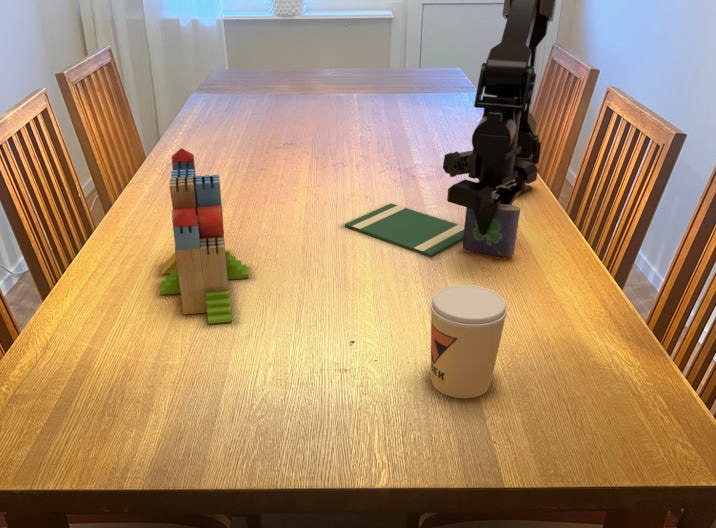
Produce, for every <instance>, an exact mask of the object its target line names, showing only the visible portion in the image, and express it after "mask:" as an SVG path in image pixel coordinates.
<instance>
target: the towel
mask: <svg viewBox="0 0 716 528" xmlns="http://www.w3.org/2000/svg"><path fill="white" fill-rule="evenodd" d="M464 226H465V225H462V224H458V223H455V222H452V221H448V220H445V219H442V218H439V217H436V216H433V215H430V214H426V213H423V212H420V211H416V210H414V209H410V208H407V207H405V206H402V205H400V204H394V203H389V204H387V205H384V206H381V207H380V208H377V209H375V210H373V211H371V212H369V213H367V214H366V213H365V214H363V215H362V216H360V217H357V218H355V219H353V220H351V221H348V222H346V223H344V228H347V229H350V230H353V231H355V232H359V233H361V234H363V235H367V236H369V237H371V238H372V237H373V238H375V239H378V240H381V241H383V242H387V243H389V244H392V245H394V246H398V247H400V248H403V249H406V250H409V251H412V252H414V253H417V254H420V255H422V256H426V257H429V258H433V257H435V256H436V255H438V254H440V253H442V252H444V251H446V250H448V249H449V248H451V247H453V246H455V245H456V244H458V243H460V242H463V234H464Z"/></svg>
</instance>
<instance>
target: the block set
mask: <svg viewBox="0 0 716 528" xmlns="http://www.w3.org/2000/svg"><path fill="white" fill-rule="evenodd" d="M171 168H172V169H171V171H170V172H171V173H170V176H171V177H170V178H169V182H168V183H169V185H168V186H169V193H170V200H171V206H172V209H171V218H172V219H171V220H172V221H171V222H172V231H173V240H174V253H173V254H172V255H171V256H170V257H169V258H168V259H167V261H166V262H165V263H163V265H162V269H161V270H162V271H161V275H162V276H164V275H165V280H164V279H163V280H161V281H160V287H159V291H160V295H161V296H165V295H178V294H180V297H181V304H182V312H183V315H192V314H203V313H206V315H207V323H208V324H222V323H230V322H233V316H232V306H231V297H230V290H229V280H240V279H248V278H249V269H248V264H242V263H243V262H242V260H241V259H238V260H237V257H236V255H231V251H229V250H226V244H225V230H224V215H223V204H222V193H221V180H220V175H219V174H212V175H210V174H205V175H197V174H196V166H195V156H194V154H193V153H192V152H190V151H188V150H187V149H185V148H179V149H178V150H176V151H175V153H173V154H172V155H171Z"/></svg>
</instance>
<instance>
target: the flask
mask: <svg viewBox="0 0 716 528" xmlns="http://www.w3.org/2000/svg"><path fill="white" fill-rule="evenodd" d="M495 194H496V195H495V199H497V198H498V197H499V196H500V195H499V194H497V193H495ZM465 208H466V209H465V216H464V217H465V219H464V225H463V226H464V234H463V240H462V246H461V247H462V250H464V251H466V252H469V253H472V254H476V255H480V256H481V255H482V256H487V257H492V258H498V259H507V260H509V259H513V257H514V256H515V251H516V242H517V237H518V236H517V234H518V227H519V220H520V215H521V209H520V207H519V206H518V205H514V204H512V205H506V204H499V207H498V209H497V211H496V213H495V216H494V218H493V220H492V222H491V225H490V227H489V229H488V231H487V233H486V234H485V235H482V234H480V233H479V229H478V225H477V221H476V217H475V213H474V210H473V209H470V208H467V207H465Z"/></svg>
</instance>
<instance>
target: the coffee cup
mask: <svg viewBox="0 0 716 528" xmlns="http://www.w3.org/2000/svg"><path fill="white" fill-rule="evenodd" d="M429 307H430V308H429V309H430V312H431V314H430V379H431V383H432V385H433V387H434V388H435V389H436V391H438V392H439V393H441V394H443V395H445V396H448V397H451V398H456V399H475V398H477V397H480V396H482V395H484V394H485V393H487V392H488V390H489V389H490V387H491V384H492V380H493V376H494V371H495V367H496V363H497V362H496V361H497V358H498V353H499V348H500V343H501V340H502V335H503V329H504V325H505V320H506V317H507V315H508V306H507V303H506V301H505V299H504V298H503V296H502V295H501V294H499V292H496V291H495V290H493V289H491V288H487V287H484V286H480V285H474V284H455V285H450V286H449V285H448V286H445V287H443V288H441V289H439V290H438V291H436V292H435V294H434V295H433V298H432V299H431V301H430V304H429Z"/></svg>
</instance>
